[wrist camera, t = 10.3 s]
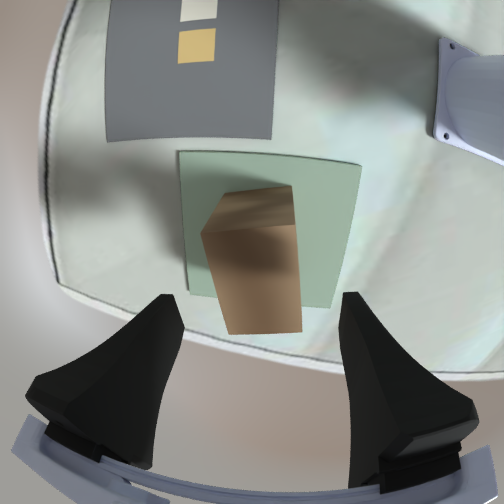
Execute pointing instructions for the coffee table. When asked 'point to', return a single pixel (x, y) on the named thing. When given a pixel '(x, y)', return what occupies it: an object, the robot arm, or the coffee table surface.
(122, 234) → the coffee table surface
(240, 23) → the grey flat rectangular plate
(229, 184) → the mat
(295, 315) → the walnut block
